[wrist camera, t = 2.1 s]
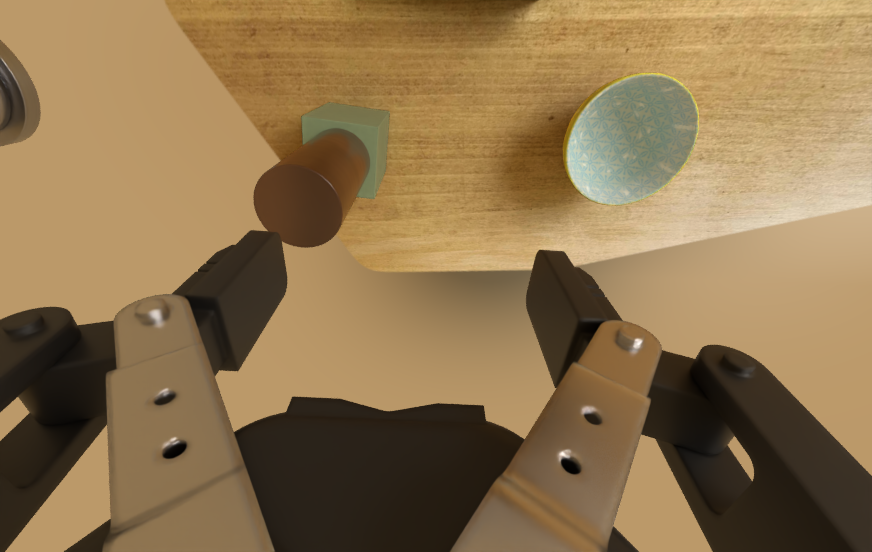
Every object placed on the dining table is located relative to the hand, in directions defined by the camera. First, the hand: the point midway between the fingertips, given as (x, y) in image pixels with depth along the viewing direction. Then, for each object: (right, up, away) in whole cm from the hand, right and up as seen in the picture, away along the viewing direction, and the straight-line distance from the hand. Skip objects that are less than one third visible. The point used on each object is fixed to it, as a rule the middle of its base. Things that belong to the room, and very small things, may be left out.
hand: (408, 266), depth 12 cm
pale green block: (-7, +14, +26) cm, 31 cm away
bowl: (+18, +15, +26) cm, 35 cm away
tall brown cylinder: (-7, +9, +19) cm, 22 cm away
